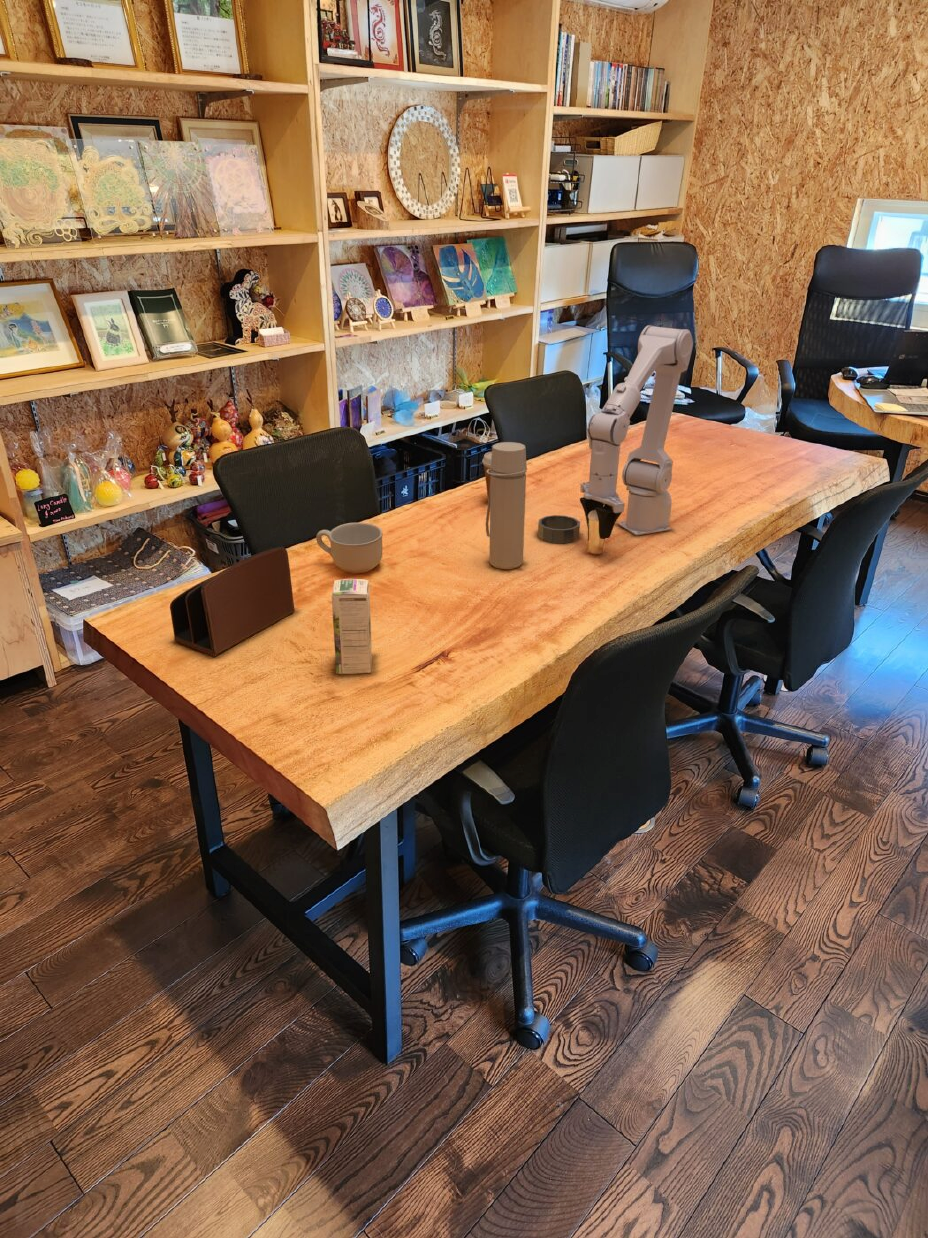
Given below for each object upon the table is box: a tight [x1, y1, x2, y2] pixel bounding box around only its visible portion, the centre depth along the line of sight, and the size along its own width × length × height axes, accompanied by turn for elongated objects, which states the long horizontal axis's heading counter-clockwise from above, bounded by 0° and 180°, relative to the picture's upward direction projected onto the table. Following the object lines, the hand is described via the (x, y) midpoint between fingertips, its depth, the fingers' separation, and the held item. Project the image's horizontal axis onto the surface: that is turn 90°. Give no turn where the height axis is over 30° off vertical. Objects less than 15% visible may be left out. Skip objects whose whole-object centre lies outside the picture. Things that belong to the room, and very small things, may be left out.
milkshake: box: [587, 510, 606, 555], centre depth 175 cm, size 4×5×10 cm
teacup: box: [315, 522, 383, 575], centre depth 170 cm, size 14×11×8 cm
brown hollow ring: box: [537, 514, 581, 545], centre depth 186 cm, size 9×9×3 cm
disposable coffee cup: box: [482, 451, 492, 499], centre depth 203 cm, size 10×10×12 cm
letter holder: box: [169, 546, 296, 657], centre depth 145 cm, size 10×20×14 cm, turn 148°
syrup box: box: [331, 578, 373, 675], centre depth 133 cm, size 6×6×14 cm
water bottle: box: [485, 441, 528, 570], centre depth 167 cm, size 9×8×25 cm
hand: (598, 533), depth 176 cm, fingers closed on milkshake, 4 cm apart
